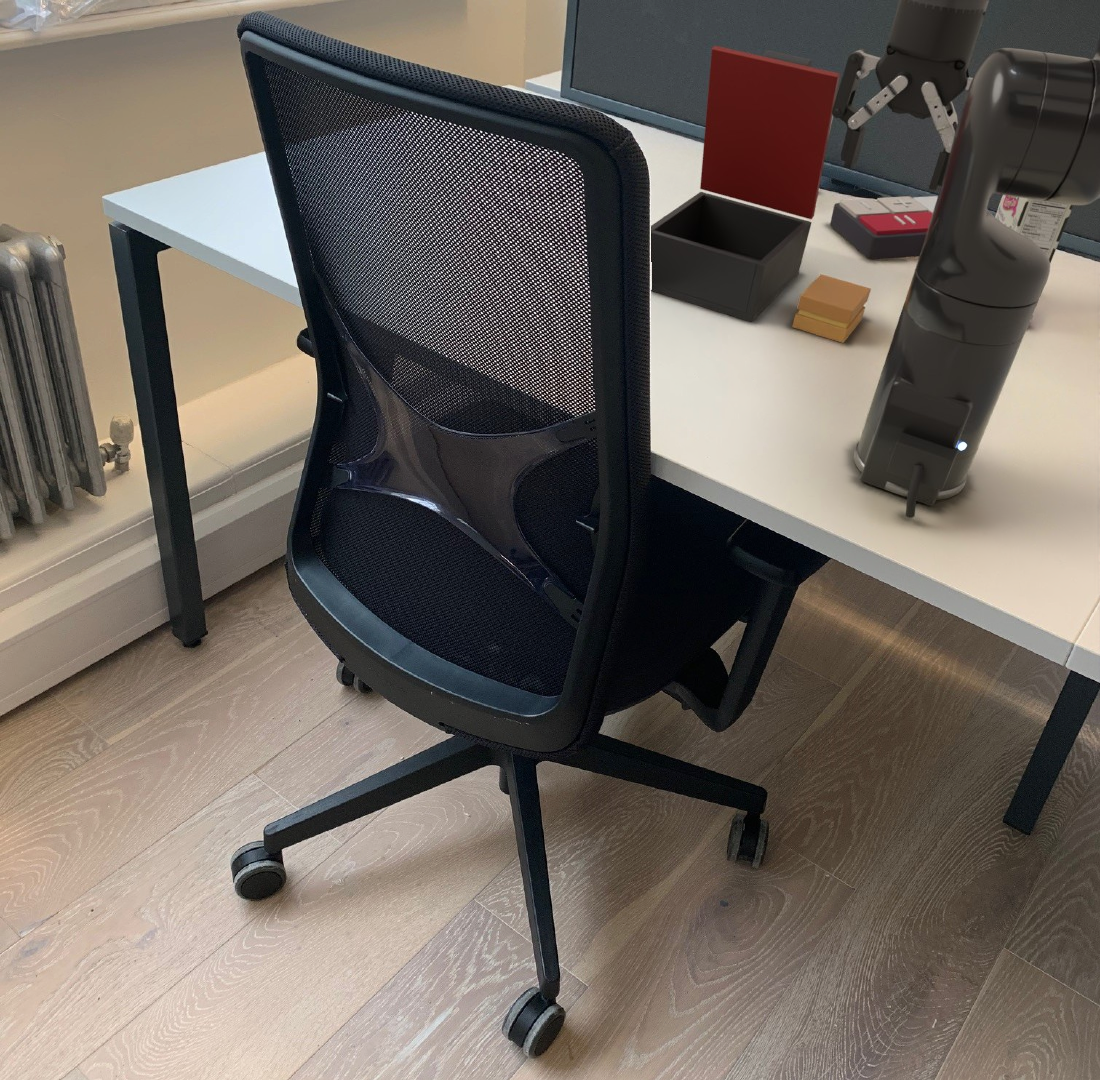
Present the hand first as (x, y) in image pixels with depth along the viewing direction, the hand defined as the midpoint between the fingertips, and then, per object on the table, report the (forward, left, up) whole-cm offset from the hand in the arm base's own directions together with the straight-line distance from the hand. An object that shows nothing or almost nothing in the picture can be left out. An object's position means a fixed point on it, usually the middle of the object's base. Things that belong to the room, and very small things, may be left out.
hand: (891, 177), depth 103 cm
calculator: (+27, +1, -16) cm, 31 cm away
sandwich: (-2, +2, -15) cm, 16 cm away
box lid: (+6, +15, -1) cm, 16 cm away
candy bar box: (+16, -13, -16) cm, 26 cm away
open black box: (0, +15, -15) cm, 22 cm away
